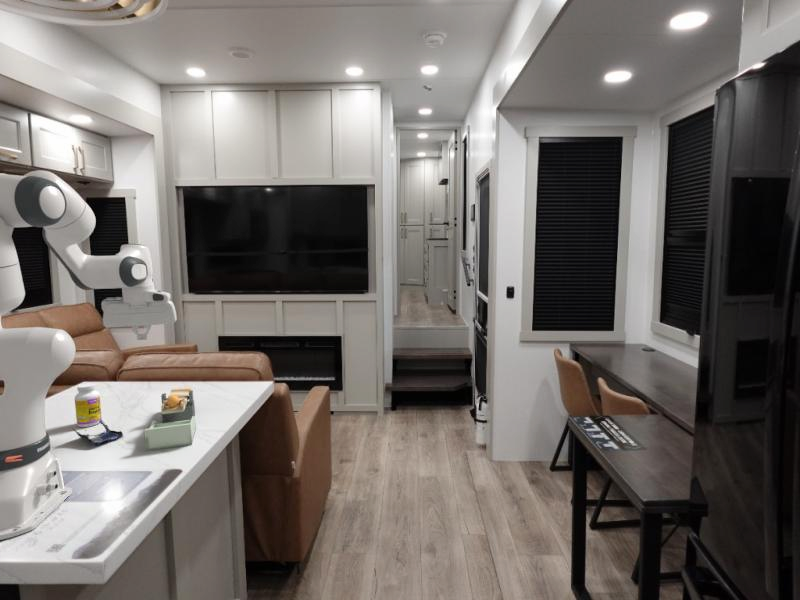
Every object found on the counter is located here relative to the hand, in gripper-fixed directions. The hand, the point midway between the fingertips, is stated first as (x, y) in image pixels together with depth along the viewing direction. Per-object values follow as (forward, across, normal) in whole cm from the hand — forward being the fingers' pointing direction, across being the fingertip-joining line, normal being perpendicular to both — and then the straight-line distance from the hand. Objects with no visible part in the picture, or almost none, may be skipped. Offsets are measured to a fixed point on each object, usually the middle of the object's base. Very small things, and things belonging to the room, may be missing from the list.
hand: (142, 339), depth 146 cm
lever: (+23, +9, -2) cm, 24 cm away
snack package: (+28, -12, -11) cm, 32 cm away
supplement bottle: (+27, -18, +5) cm, 33 cm away
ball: (+18, +9, -11) cm, 23 cm away
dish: (+27, +9, -18) cm, 34 cm away
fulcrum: (+27, +9, -2) cm, 29 cm away
